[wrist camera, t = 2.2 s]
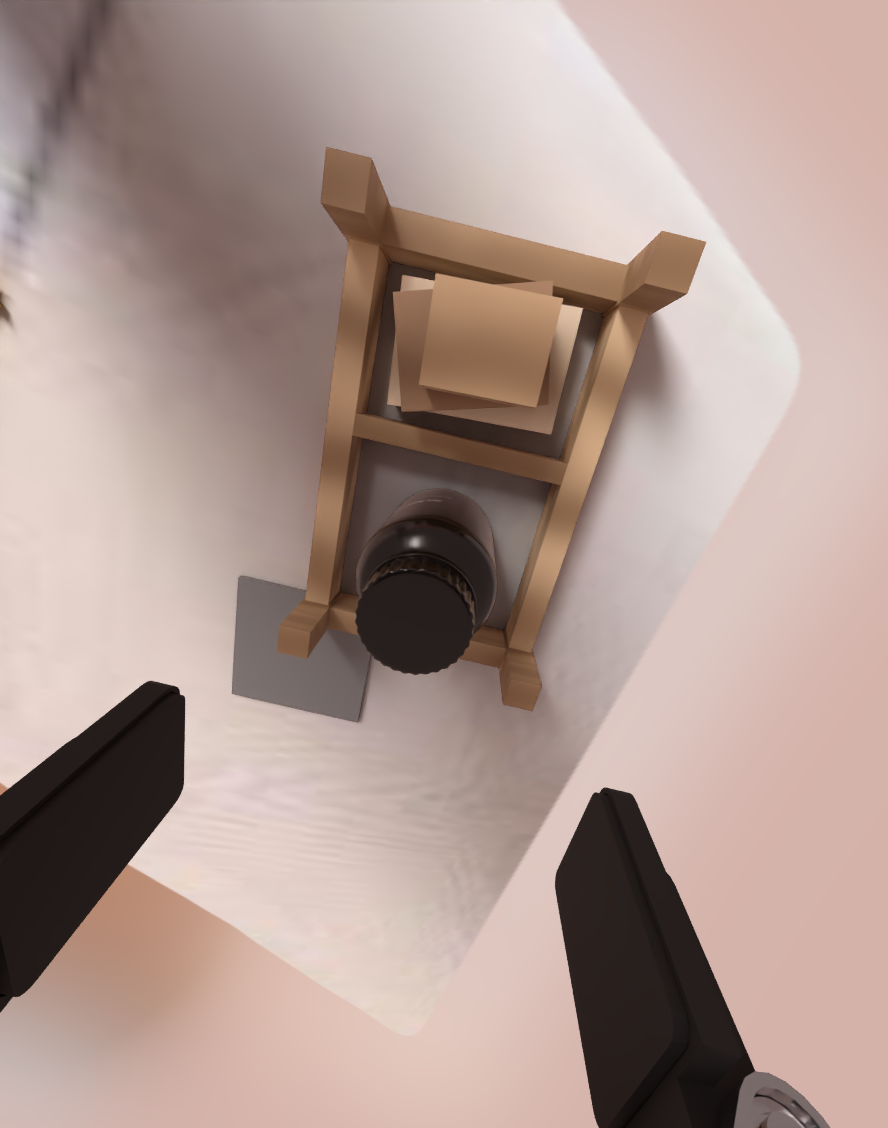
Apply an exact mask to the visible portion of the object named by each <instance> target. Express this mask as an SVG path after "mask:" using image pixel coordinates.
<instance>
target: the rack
mask: <svg viewBox="0 0 888 1128" xmlns="http://www.w3.org/2000/svg"><path fill="white" fill-rule="evenodd" d="M321 204H322V205H323V207H324V208H325V210H326V211H327V212H328V214H329V215H330V217H331V218H332V219H333V221H334V222H335V224H336V225H337V226H338V228H339V229H340V231H341V232H342V234H343V235H344V236H345V238H346V239H347V241H348V249H347V258H346V266H345V274H344V283H343V291H342V299H341V308H340V316H339V324H338V332H337V341H336V349H335V357H334V366H333V374H332V382H331V391H330V399H329V407H328V416H327V424H326V432H325V440H324V449H323V457H322V465H321V474H320V482H319V490H318V499H317V507H316V515H315V524H314V532H313V540H312V549H311V557H310V565H309V573H308V582H307V590H306V597H305V598H304V599H303V600H302V601H301V602H300V603H299V604H298V605H297V607H296V608H295V609H294V610H293V611H292V612H291V613H290V614H289V615H288V616H287V617H286V618H285V620H284V621H283V622H282V623H281V624H280V625H279V633H278V643H277V652H278V653H283V654H287V655H291V656H296V657H300V658H304V659H307V658H308V657H309V655H310V654H311V652H312V651H313V650H314V648H315V647H316V645H317V644H318V642H319V641H320V639H321V638H322V636H323V635H324V633H325V632H326V630H327V629H328V628H330V629H334V630H338V631H343V632H347V633H351V634H356V635H358V633H357V625H356V623H355V619H356V613H355V609H356V608H357V606H358V598H357V596H355V595H350V594H346V593H342V590H340V585H341V578H342V572H343V565H344V558H345V552H346V545H347V538H348V532H349V525H350V519H351V512H352V505H353V499H354V492H355V485H356V479H357V472H358V466H359V459H360V452H361V446H362V439H363V438H365V439H370V440H374V441H378V442H382V443H386V444H390V445H395V446H399V447H403V448H407V449H411V450H415V451H420V452H424V453H428V454H432V455H436V456H441V457H445V458H449V459H453V460H457V461H461V462H466V463H470V464H474V465H478V466H482V467H486V468H491V469H495V470H499V471H503V472H507V473H512V474H516V475H520V476H524V477H528V478H532V479H537V480H541V481H545V482H549V483H552V484H551V487H550V490H549V493H548V497H547V500H546V503H545V506H544V509H543V513H542V516H541V519H540V522H539V525H538V528H537V532H536V535H535V538H534V541H533V544H532V547H531V551H530V554H529V557H528V560H527V563H526V566H525V570H524V573H523V576H522V579H521V582H520V585H519V589H518V592H517V595H516V598H515V601H514V604H513V608H512V611H511V614H510V617H509V620H508V624H507V627H506V629H503V630H500V629H496V628H492V627H487V626H482V627H481V628H480V629H479V630H478V631H477V632H476V633H475V634H474V635H473V637H472V638H471V639H470V645H469V647H468V648H467V649H465V652H464V655H463V656H461V657H459V659H463V660H468V661H472V662H476V663H481V664H485V665H489V666H493V667H498V668H499V673H500V683H501V692H502V702H503V704H504V705H508V706H512V707H517V708H521V709H525V710H530V711H533V709H534V706H535V703H536V701H537V698H538V695H539V693H540V690H541V687H542V685H541V681H540V677H539V673H538V669H537V665H536V661H535V657H534V654H533V650H532V649H533V646H534V643H535V640H536V637H537V634H538V631H539V629H540V626H541V623H542V620H543V617H544V614H545V611H546V608H547V606H548V603H549V600H550V597H551V594H552V591H553V588H554V585H555V583H556V580H557V577H558V574H559V571H560V568H561V565H562V562H563V560H564V557H565V554H566V551H567V548H568V545H569V542H570V539H571V537H572V534H573V531H574V528H575V525H576V522H577V519H578V516H579V514H580V511H581V508H582V505H583V502H584V499H585V496H586V493H587V490H588V488H589V485H590V482H591V479H592V476H593V473H594V470H595V467H596V465H597V462H598V459H599V456H600V453H601V450H602V447H603V444H604V442H605V439H606V436H607V433H608V430H609V427H610V424H611V421H612V419H613V416H614V413H615V410H616V407H617V404H618V401H619V398H620V396H621V393H622V390H623V387H624V384H625V381H626V378H627V375H628V372H629V370H630V367H631V364H632V361H633V358H634V355H635V352H636V349H637V347H638V344H639V341H640V338H641V335H642V332H643V329H644V326H645V324H646V321H647V318H648V316H649V315H651V314H653V313H654V312H656V311H658V310H660V309H661V308H663V307H665V306H667V305H668V304H670V303H672V302H674V301H675V300H677V299H679V298H681V297H682V296H684V295H686V294H687V293H688V290H689V287H690V285H691V282H692V279H693V277H694V274H695V271H696V268H697V266H698V263H699V260H700V258H701V255H702V252H703V249H704V247H705V244H706V242H705V241H701V240H697V239H693V238H689V237H685V236H681V235H677V234H673V233H669V232H665V231H661V232H660V233H659V234H658V235H657V236H656V237H655V238H654V239H653V240H652V241H651V242H650V243H649V244H648V245H647V246H646V247H645V248H644V249H643V250H642V251H641V252H640V253H639V254H638V255H637V256H636V257H635V258H634V259H633V260H632V261H631V262H630V263H629V264H628V265H625V264H620V263H616V262H612V261H608V260H604V259H600V258H596V257H592V256H588V255H584V254H580V253H576V252H572V251H568V250H564V249H560V248H556V247H552V246H548V245H544V244H540V243H536V242H532V241H528V240H524V239H520V238H516V237H512V236H508V235H504V234H500V233H496V232H492V231H488V230H484V229H480V228H476V227H472V226H468V225H464V224H460V223H455V222H451V221H447V220H443V219H439V218H435V217H431V216H427V215H423V214H419V213H415V212H411V211H407V210H403V209H399V208H395V207H391V206H390V204H389V201H388V199H387V196H386V194H385V191H384V189H383V186H382V184H381V181H380V178H379V176H378V173H377V171H376V168H375V166H374V163H373V160H372V158H369V157H365V156H361V155H357V154H353V153H349V152H345V151H341V150H337V149H333V148H329V147H326V155H325V165H324V175H323V186H322V196H321ZM392 262H396V263H400V264H404V265H408V266H412V267H416V268H420V269H424V270H428V271H432V272H436V273H440V274H445V275H449V276H453V277H458V278H463V279H468V280H473V281H478V282H483V283H488V284H493V285H496V284H510V283H524V282H538V281H552V280H553V293H552V296H553V297H558V298H563V302H562V304H566V305H570V306H574V307H579V308H583V309H587V310H591V311H595V312H599V313H602V316H601V317H604V319H603V322H602V325H601V329H600V332H599V335H598V338H597V341H596V344H595V348H594V351H593V354H592V357H591V360H590V363H589V367H588V370H587V373H586V376H585V379H584V383H583V386H582V389H581V392H580V395H579V398H578V402H577V405H576V408H575V411H574V414H573V417H572V421H571V424H570V427H569V430H568V433H567V436H566V440H565V443H564V446H563V449H562V452H561V455H560V459H555V458H550V457H546V456H542V455H538V454H534V453H530V452H525V451H521V450H517V449H513V448H509V447H505V446H500V445H496V444H492V443H488V442H484V441H480V440H476V439H471V438H467V437H463V436H459V435H455V434H451V433H446V432H442V431H438V430H434V429H430V428H426V427H421V426H417V425H413V424H409V423H405V422H401V421H397V420H392V419H388V418H384V417H380V416H376V415H372V414H367V406H368V399H369V393H370V386H371V380H372V373H373V366H374V360H375V353H376V346H377V340H378V333H379V327H380V320H381V313H382V307H383V300H384V293H385V287H386V280H387V274H388V267H389V264H390V265H392Z"/></svg>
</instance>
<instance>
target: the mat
mask: <svg viewBox="0 0 888 1128" xmlns="http://www.w3.org/2000/svg"><path fill="white" fill-rule="evenodd" d="M305 597H306V591H305V590H301V589H297V588H292V587H288V586H284V585H279V584H275V583H271V582H267V581H262V580H258V579H254V578H249V577H245V576H240V577H239V578H238V592H237V610H236V628H235V645H234V663H233V680H232V694H235V695H239V696H244V697H248V698H252V699H257V700H261V701H265V702H270V703H274V704H279V705H283V706H287V707H292V708H296V709H300V710H305V711H309V712H314V713H318V714H322V715H327V716H331V717H335V718H340V719H344V720H349V721H353V722H358V719H359V715H360V709H361V704H362V699H363V694H364V688H365V683H366V678H367V673H368V667H369V662H370V657H371V653H369V652H368V651H367V650H366V647H365V645H364V644H362V643H361V639H360V636H359V635H356V634H351V633H347V632H343V631H338V630H334V629H330V628H328V629H327V630H326V632H325V633H324V635H323V636H322V638H321V639H320V641H319V642H318V644H317V645H316V647H315V648H314V650H313V651H312V652H311V654H310V655H309V657H308V658H307V659H304V658H300V657H296V656H291V655H287V654H283V653H278V652H277V643H278V633H279V625H280V624H281V623H282V622H283V621H284V620H285V618H286V617H287V616H288V615H289V614H290V613H291V612H292V611H293V610H294V609H295V608H296V607H297V605H298V604H299V603H300V602H301V601H302V600H303V599H304V598H305Z"/></svg>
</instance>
